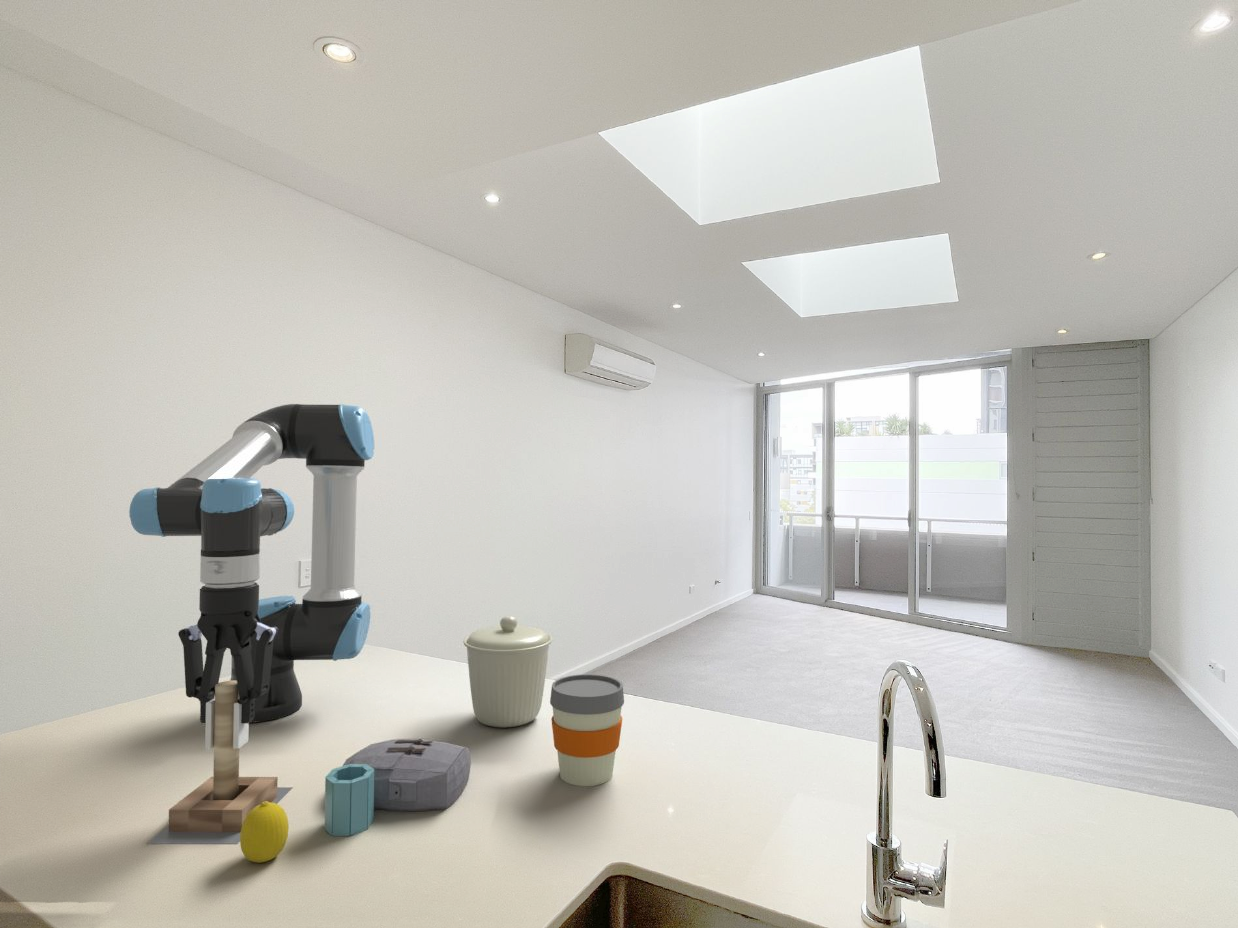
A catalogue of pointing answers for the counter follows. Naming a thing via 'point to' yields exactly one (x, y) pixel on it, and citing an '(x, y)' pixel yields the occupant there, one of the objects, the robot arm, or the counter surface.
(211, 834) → the tray
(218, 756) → the dowel
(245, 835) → the lemon
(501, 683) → the canister
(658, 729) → the counter surface
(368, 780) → the cup
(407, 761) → the grey rounded bag
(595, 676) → the reusable coffee cup
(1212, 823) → the counter surface
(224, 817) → the frame
